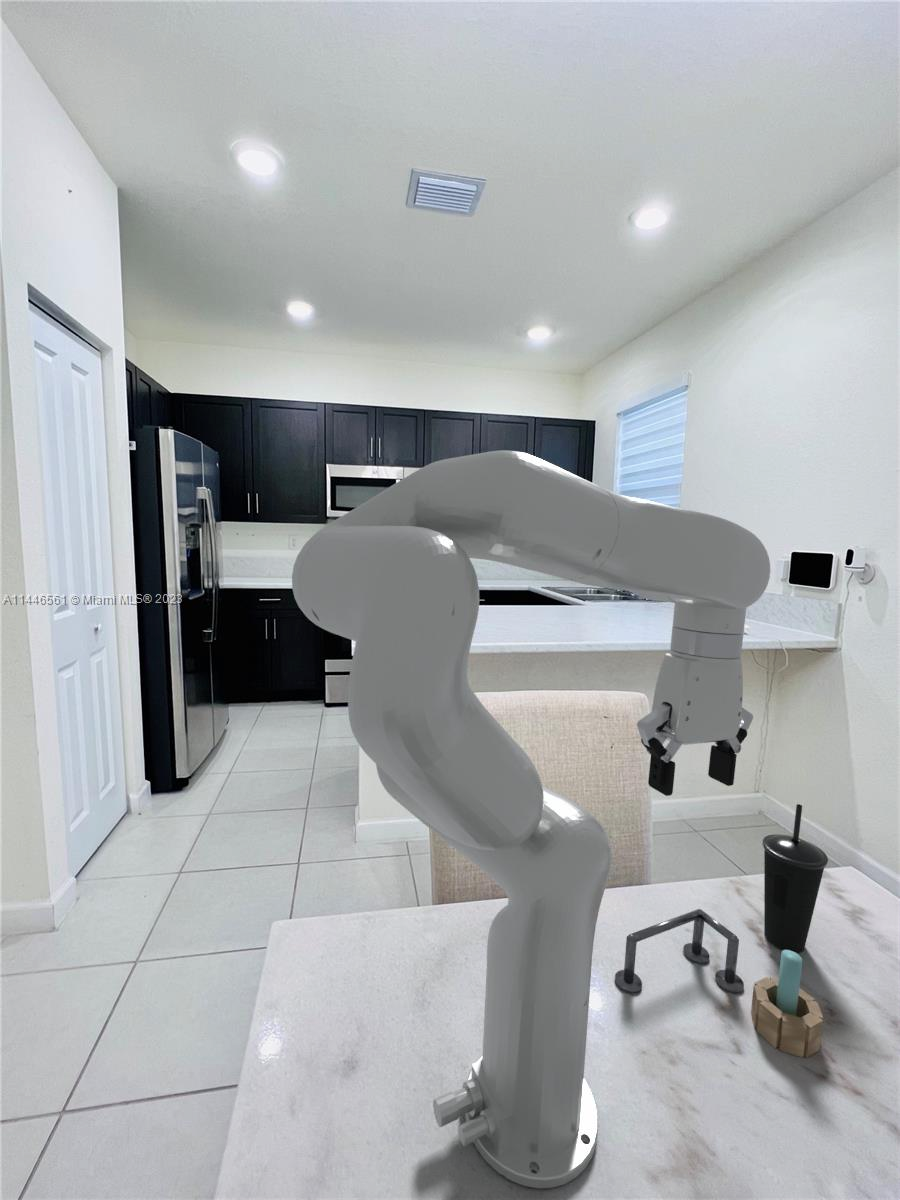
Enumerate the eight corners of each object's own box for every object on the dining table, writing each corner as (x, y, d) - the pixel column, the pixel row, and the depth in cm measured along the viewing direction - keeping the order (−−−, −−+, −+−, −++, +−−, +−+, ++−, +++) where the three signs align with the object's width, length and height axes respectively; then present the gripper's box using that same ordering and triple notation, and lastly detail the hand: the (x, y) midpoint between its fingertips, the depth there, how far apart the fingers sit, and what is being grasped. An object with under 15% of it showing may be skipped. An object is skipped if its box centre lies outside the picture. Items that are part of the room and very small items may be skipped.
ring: (739, 1016, 63) (742, 988, 62) (775, 998, 66) (778, 971, 65) (794, 1065, 57) (798, 1034, 57) (830, 1043, 60) (834, 1013, 59)
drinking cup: (827, 966, 71) (845, 823, 69) (764, 955, 72) (779, 815, 70) (802, 926, 78) (817, 796, 76) (745, 917, 80) (758, 789, 78)
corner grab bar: (659, 1031, 60) (664, 979, 60) (609, 977, 68) (612, 929, 67) (749, 988, 67) (754, 940, 66) (694, 943, 74) (698, 899, 74)
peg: (788, 1046, 59) (797, 971, 58) (761, 1022, 62) (769, 950, 61) (806, 1035, 61) (815, 962, 60) (779, 1012, 64) (786, 942, 63)
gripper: (730, 638, 69) (716, 766, 71) (624, 640, 63) (612, 781, 64) (786, 649, 63) (769, 790, 64) (674, 652, 56) (658, 810, 57)
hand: (690, 785), depth 64 cm, fingers open, 9 cm apart
